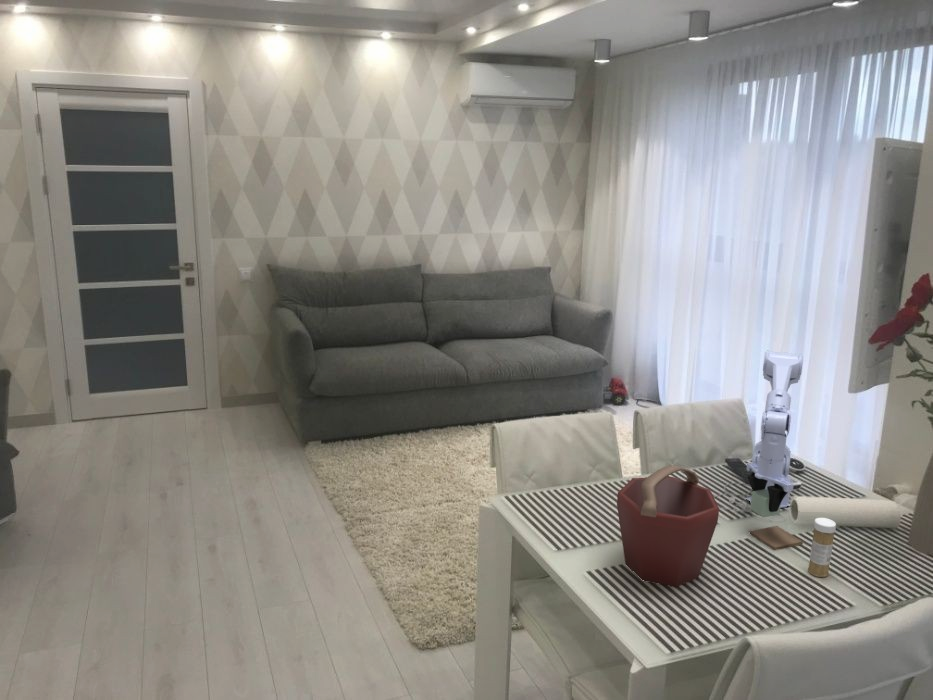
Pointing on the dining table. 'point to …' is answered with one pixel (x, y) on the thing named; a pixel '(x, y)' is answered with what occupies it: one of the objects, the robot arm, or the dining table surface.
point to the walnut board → (776, 537)
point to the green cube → (762, 503)
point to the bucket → (666, 526)
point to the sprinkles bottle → (821, 547)
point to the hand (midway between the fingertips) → (765, 506)
